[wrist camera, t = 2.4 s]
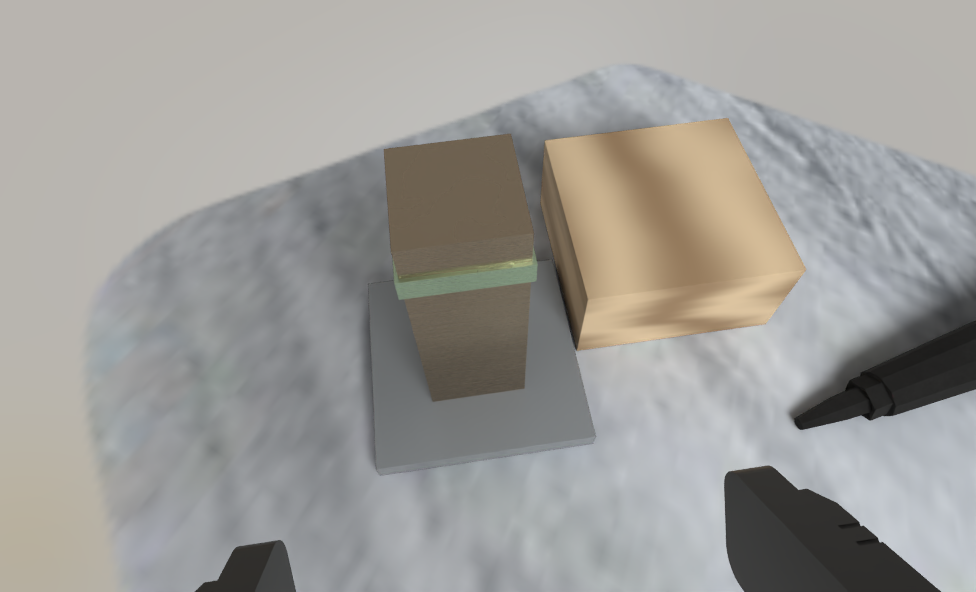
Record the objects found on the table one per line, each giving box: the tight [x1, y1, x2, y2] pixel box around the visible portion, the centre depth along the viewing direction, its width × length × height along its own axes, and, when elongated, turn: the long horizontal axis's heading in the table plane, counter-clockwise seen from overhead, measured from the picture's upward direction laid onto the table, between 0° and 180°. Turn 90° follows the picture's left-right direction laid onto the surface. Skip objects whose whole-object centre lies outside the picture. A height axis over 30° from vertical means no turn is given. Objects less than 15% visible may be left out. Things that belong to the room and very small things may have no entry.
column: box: [384, 134, 538, 402], centre depth 25 cm, size 5×5×12 cm
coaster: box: [368, 259, 596, 476], centre depth 30 cm, size 10×10×1 cm
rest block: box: [540, 118, 806, 351], centre depth 31 cm, size 10×10×5 cm
